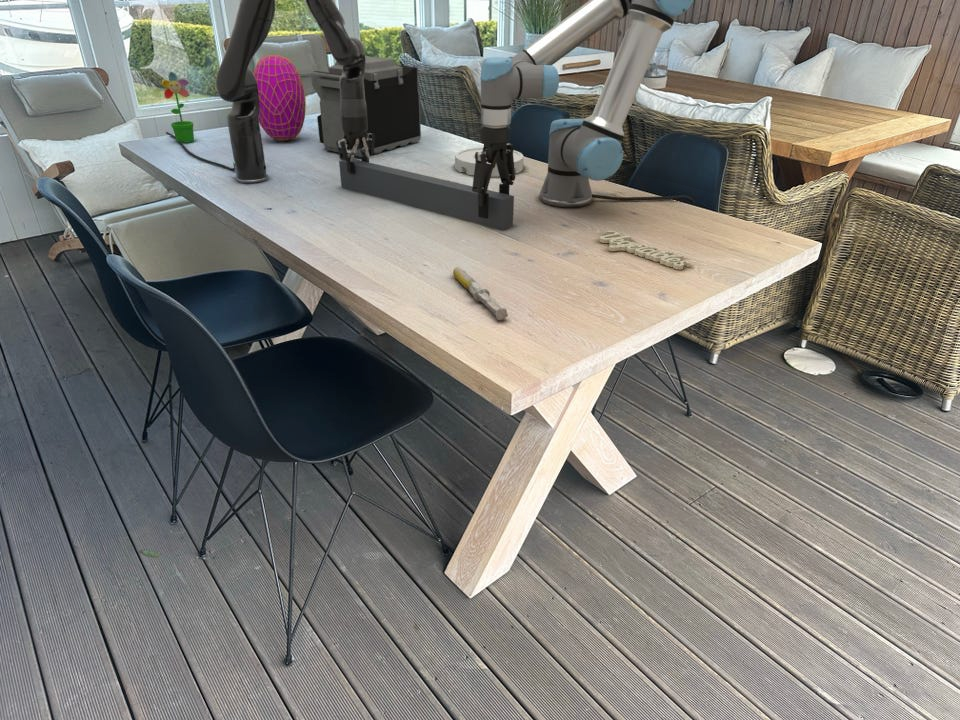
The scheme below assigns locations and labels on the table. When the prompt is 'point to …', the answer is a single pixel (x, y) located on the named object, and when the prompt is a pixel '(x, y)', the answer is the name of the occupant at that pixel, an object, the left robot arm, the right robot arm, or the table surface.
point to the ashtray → (467, 162)
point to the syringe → (479, 293)
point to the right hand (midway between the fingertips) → (493, 212)
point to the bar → (427, 193)
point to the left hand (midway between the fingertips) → (358, 171)
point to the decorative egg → (280, 97)
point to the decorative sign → (643, 250)
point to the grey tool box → (373, 104)
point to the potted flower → (181, 128)
